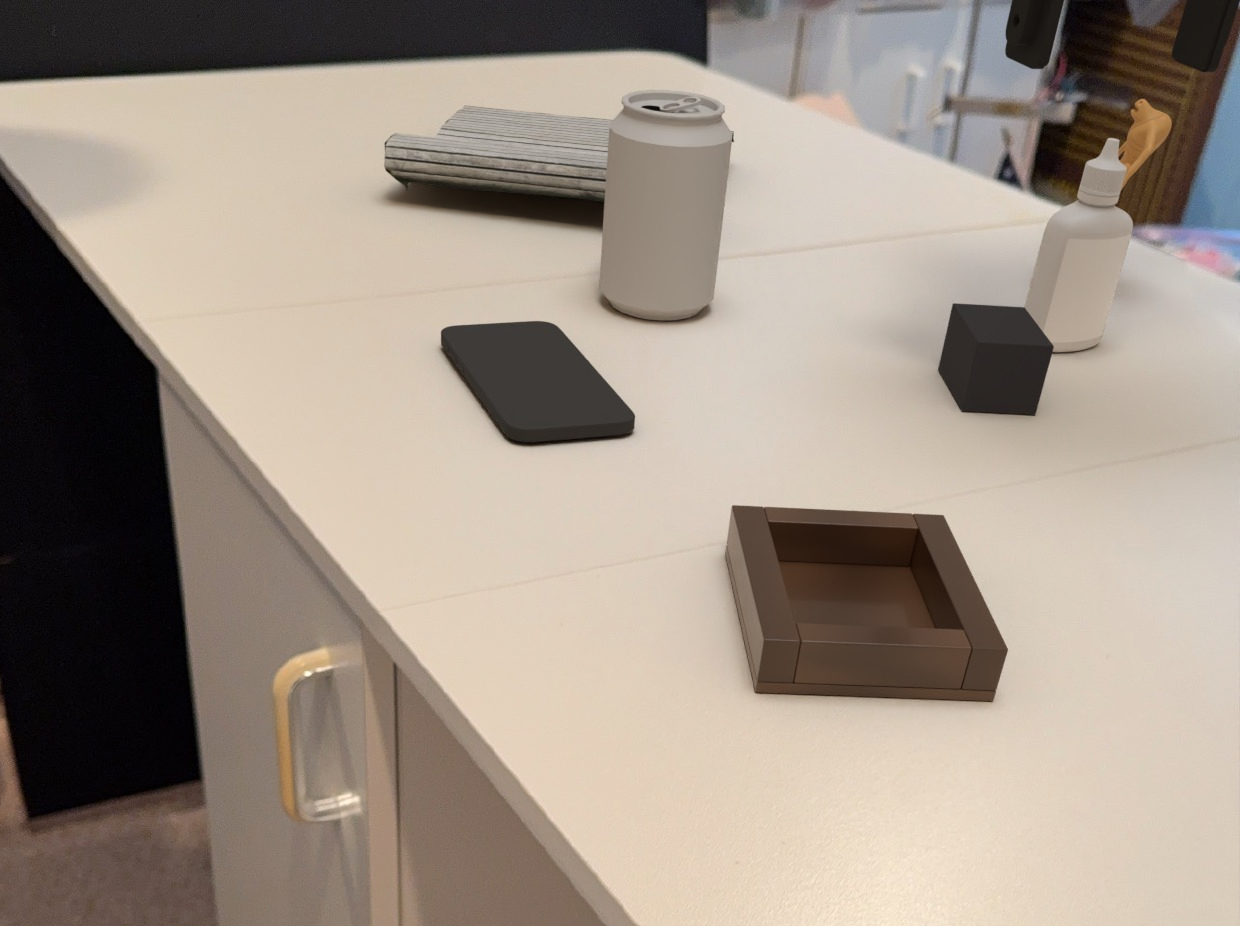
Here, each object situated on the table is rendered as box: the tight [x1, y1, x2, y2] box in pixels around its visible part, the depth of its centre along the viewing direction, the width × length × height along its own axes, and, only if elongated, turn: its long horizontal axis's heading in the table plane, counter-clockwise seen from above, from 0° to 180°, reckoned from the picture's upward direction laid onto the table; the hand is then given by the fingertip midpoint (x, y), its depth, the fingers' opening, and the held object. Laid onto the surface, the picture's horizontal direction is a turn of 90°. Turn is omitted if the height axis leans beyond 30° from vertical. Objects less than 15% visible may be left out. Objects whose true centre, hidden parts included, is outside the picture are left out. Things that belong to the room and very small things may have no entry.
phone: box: [440, 320, 636, 443], centre depth 81 cm, size 7×1×15 cm
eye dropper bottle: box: [1023, 137, 1134, 353], centre depth 89 cm, size 4×6×12 cm
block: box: [937, 302, 1054, 416], centre depth 85 cm, size 6×4×4 cm
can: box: [598, 89, 733, 321], centre depth 90 cm, size 8×8×12 cm
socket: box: [724, 504, 1009, 702], centre depth 63 cm, size 10×12×2 cm
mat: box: [383, 105, 735, 203], centre depth 112 cm, size 23×24×5 cm
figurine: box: [1118, 98, 1173, 191], centre depth 99 cm, size 8×6×12 cm
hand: (1110, 64), depth 72 cm, fingers open, 9 cm apart
